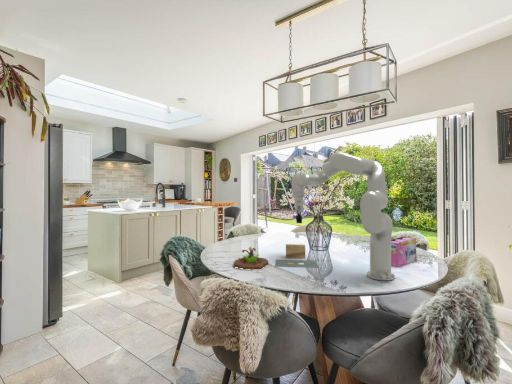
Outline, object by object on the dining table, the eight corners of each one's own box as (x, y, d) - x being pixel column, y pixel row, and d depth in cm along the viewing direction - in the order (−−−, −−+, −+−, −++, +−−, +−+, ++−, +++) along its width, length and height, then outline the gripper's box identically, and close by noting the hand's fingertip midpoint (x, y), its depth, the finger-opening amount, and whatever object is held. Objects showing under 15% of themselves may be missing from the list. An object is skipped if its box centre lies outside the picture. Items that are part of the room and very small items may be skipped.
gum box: (404, 257, 170) (404, 236, 170) (418, 260, 164) (418, 238, 164) (384, 264, 156) (384, 240, 156) (398, 267, 150) (398, 243, 150)
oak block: (305, 259, 169) (305, 246, 169) (285, 258, 171) (285, 246, 171) (304, 257, 174) (304, 244, 174) (286, 256, 176) (285, 244, 176)
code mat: (318, 268, 150) (318, 267, 150) (274, 266, 153) (274, 266, 153) (315, 260, 165) (315, 260, 165) (275, 259, 168) (275, 259, 168)
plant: (229, 269, 149) (228, 249, 149) (238, 260, 169) (238, 242, 168) (265, 271, 146) (265, 250, 145) (270, 261, 165) (270, 243, 165)
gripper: (305, 195, 161) (305, 223, 162) (303, 194, 179) (304, 220, 179) (292, 195, 162) (293, 223, 163) (292, 194, 180) (292, 220, 180)
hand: (299, 222), depth 171 cm, fingers open, 9 cm apart
